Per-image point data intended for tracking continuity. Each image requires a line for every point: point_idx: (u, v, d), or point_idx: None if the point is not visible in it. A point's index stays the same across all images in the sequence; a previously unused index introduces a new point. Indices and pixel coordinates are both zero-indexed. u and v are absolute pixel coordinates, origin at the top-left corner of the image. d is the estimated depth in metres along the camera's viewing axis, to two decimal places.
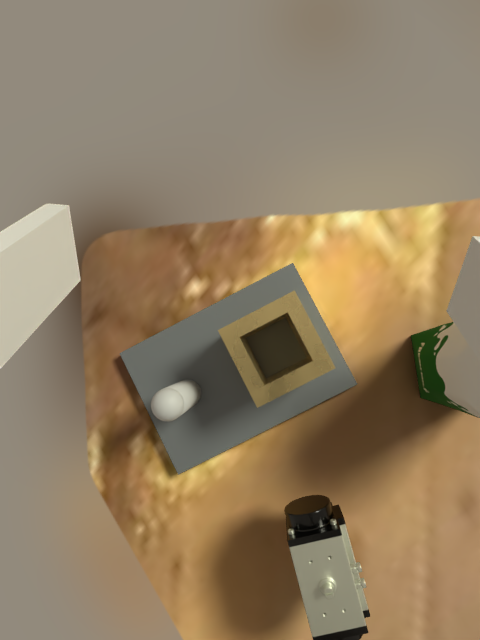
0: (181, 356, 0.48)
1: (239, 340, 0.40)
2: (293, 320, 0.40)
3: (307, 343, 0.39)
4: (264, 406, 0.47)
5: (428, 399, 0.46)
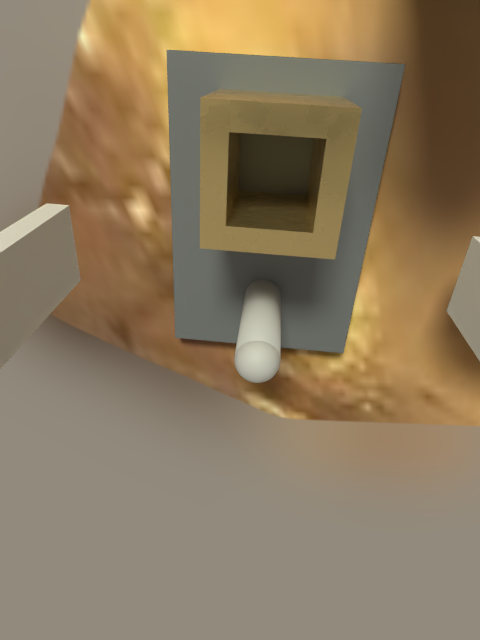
0: (216, 278, 0.36)
1: (230, 228, 0.25)
2: (247, 130, 0.22)
3: (294, 131, 0.22)
4: None
5: None
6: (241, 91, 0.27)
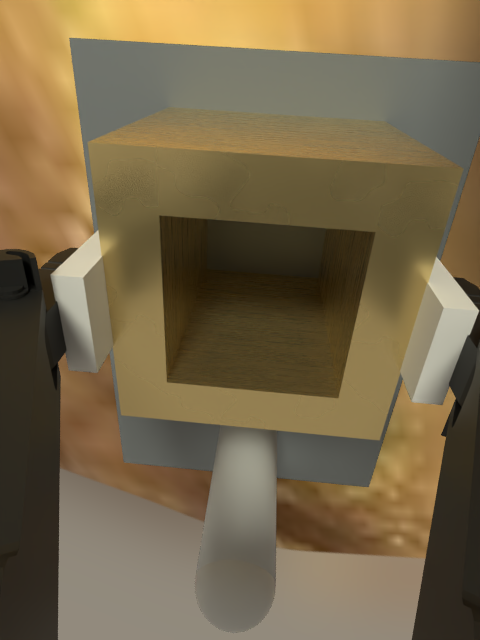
0: None
1: (176, 386, 0.13)
2: (198, 213, 0.10)
3: (304, 215, 0.10)
4: None
5: None
6: (203, 113, 0.15)
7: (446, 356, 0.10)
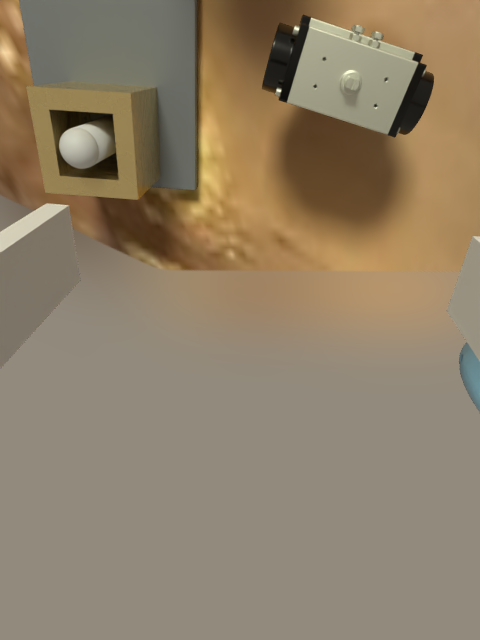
0: None
1: (63, 177, 0.36)
2: (60, 108, 0.33)
3: (91, 108, 0.33)
4: (167, 49, 0.38)
5: None
6: (80, 83, 0.38)
7: None
